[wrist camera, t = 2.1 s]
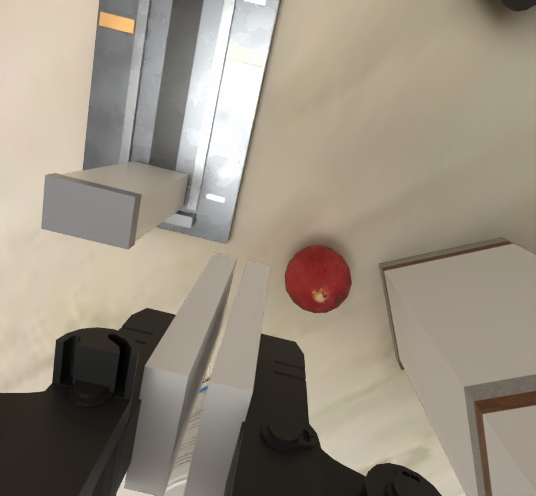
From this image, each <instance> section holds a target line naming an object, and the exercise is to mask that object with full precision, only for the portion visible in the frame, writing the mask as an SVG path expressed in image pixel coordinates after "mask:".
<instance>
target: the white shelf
mask: <svg viewBox="0 0 536 496" xmlns="http://www.w3.org/2000/svg"><path fill="white" fill-rule="evenodd" d="M379 266H380V272H381V277H382V283H383V288H384V294H385V299H386V305H387V310H388V316H389V321H390V327H391V332H392V338H393V343H394V349H395V354H396V359H397V361H398V363H399V365H400V367H401V369H402V370H404V369H405V371H406V373H407V375H408V377H409V379H410V381H411V384H412V386H413V388H414V390H415V392H416V394H417V396H418V398H419V400H420V402H421V404H422V406H423V408H424V410H425V412H426V414H427V416H428V418H429V420H430V422H431V424H432V426H433V428H434V430H435V433H436V435H437V437H438V439H439V441H440V443H441V445H442V447H443V449H444V451H445V453H446V455H447V457H448V459H449V461H450V463H451V465H452V467H453V469H454V471H455V473H456V475H457V477H458V479H459V481H460V484H461V486H462V488H463V490H464V492H465V494H466V496H536V255H535V254H533V253H531V252H529V251H527V250H525V249H523V248H521V247H519V246H517V245H515V244H513V243H511V242H509V241H507V240H505V239H503V238H498V239H493V240H488V241H483V242H479V243H474V244H469V245H465V246H460V247H455V248H451V249H446V250H441V251H437V252H432V253H427V254H423V255H418V256H413V257H409V258H404V259H399V260H395V261H390V262H385V263H381V264H379Z"/></svg>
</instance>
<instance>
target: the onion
mask: <svg viewBox="0 0 536 496" xmlns="http://www.w3.org/2000/svg"><path fill="white" fill-rule="evenodd" d="M285 284H286V291H287V292H288V294H289V296H290V297H291V299H292V300H293V302H294V303H295V304H297V305H298V306H299V307H301V308H302V309H303V310H306V311H309V312H313V313H327V312H329V311H331V310H333V309H335V308H337V307H339V305H340V304H341V303H342V302H343V301H344V300H345V299H346V298H347V297H348V294H349V290H350V287H351V284H352V281H351V275H350V269H349V267H348V265H347V264H346V262H345V260H344V259H343V257H342V256H340V255H339V254H337V253H336V252H334V251H333V250H332V249H330V248H326V247H322V246H313V247H307V248H305V249H303V250H301V251H300V252H298V253H296V255H295V256H294V257H293V258H292V260H291V261H290V262H289V264H288V267H287V270H286V273H285Z"/></svg>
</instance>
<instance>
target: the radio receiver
mask: <svg viewBox="0 0 536 496" xmlns="http://www.w3.org/2000/svg"><path fill="white" fill-rule="evenodd" d="M501 1H502V3H503V4H504V5H505V6H506V7H508V8H509V9H510V10H513V11H523V10H527V9H529V8H531V7H533V6H535V5H536V0H501Z"/></svg>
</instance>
